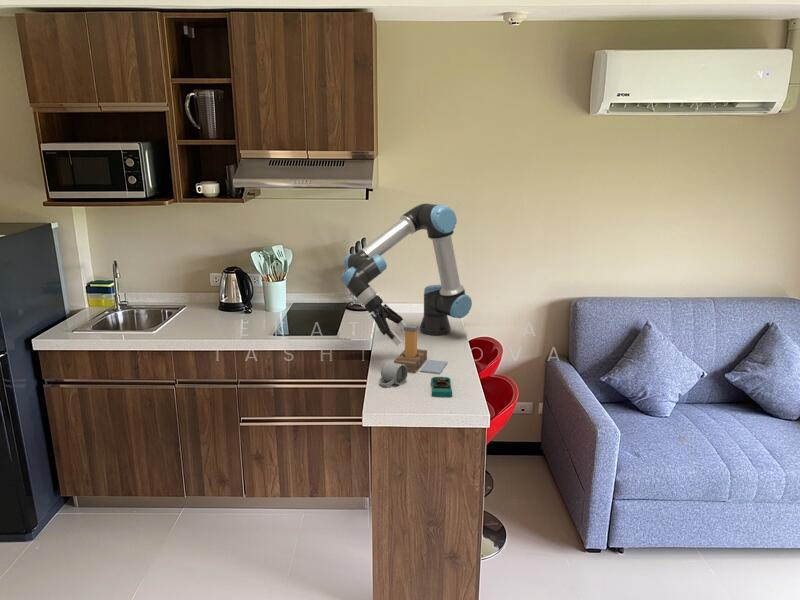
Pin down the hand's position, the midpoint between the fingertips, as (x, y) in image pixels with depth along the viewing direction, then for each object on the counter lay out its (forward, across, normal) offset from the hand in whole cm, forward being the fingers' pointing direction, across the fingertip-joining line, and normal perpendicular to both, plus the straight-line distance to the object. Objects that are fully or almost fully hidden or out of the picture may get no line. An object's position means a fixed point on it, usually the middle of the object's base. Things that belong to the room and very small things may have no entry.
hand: (404, 339), depth 246 cm
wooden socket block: (+10, -1, -6) cm, 11 cm away
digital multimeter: (+23, +21, +7) cm, 32 cm away
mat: (+17, -1, +1) cm, 17 cm away
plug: (+10, -1, -6) cm, 11 cm away
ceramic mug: (+9, +21, -7) cm, 24 cm away
